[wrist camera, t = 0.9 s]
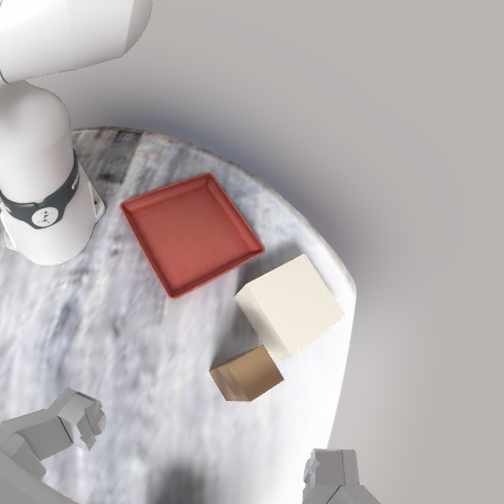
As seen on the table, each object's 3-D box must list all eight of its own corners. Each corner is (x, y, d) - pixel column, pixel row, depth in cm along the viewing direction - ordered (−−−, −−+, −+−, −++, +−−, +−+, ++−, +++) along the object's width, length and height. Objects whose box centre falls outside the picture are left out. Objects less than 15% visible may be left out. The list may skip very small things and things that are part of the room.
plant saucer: (118, 214, 46) (117, 202, 43) (206, 181, 56) (210, 170, 53) (168, 308, 43) (170, 302, 40) (260, 259, 52) (267, 251, 49)
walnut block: (208, 371, 40) (228, 364, 32) (237, 355, 43) (263, 344, 34) (226, 400, 39) (250, 401, 31) (254, 384, 41) (284, 379, 33)
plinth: (233, 297, 47) (246, 283, 42) (288, 268, 53) (304, 253, 48) (274, 361, 44) (292, 356, 39) (324, 324, 51) (345, 315, 46)
